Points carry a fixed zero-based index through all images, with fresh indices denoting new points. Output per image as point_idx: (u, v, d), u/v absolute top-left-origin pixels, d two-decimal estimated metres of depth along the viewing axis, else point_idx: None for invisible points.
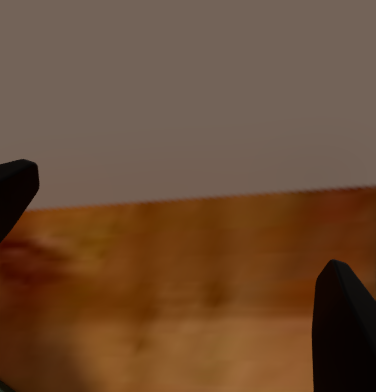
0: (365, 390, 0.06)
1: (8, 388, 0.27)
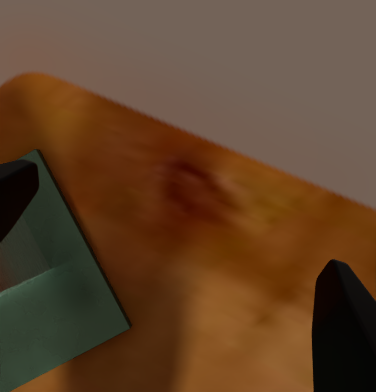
0: (365, 390, 0.06)
1: (116, 298, 0.26)
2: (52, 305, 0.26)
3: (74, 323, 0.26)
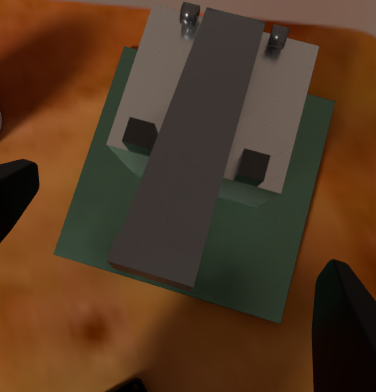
0: (365, 390, 0.06)
1: None
2: (229, 238, 0.22)
3: (233, 272, 0.22)
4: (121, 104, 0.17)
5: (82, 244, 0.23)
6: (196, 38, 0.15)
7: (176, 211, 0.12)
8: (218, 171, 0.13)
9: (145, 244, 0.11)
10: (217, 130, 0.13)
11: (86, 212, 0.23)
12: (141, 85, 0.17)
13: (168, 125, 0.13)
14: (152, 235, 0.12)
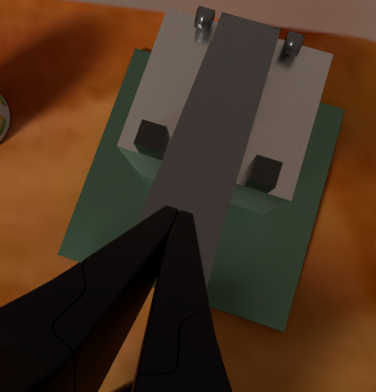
0: (149, 315, 0.07)
1: None
2: (234, 244, 0.22)
3: (238, 278, 0.22)
4: (133, 106, 0.17)
5: (87, 245, 0.22)
6: (211, 42, 0.15)
7: None
8: (231, 176, 0.13)
9: None
10: (231, 135, 0.13)
11: (92, 213, 0.23)
12: (154, 88, 0.17)
13: (181, 129, 0.13)
14: None
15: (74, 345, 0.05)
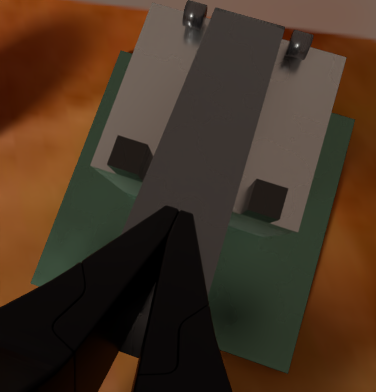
0: (149, 315, 0.07)
1: None
2: (231, 272, 0.20)
3: (235, 311, 0.19)
4: (110, 118, 0.14)
5: None
6: (201, 44, 0.13)
7: None
8: (223, 212, 0.10)
9: None
10: (224, 159, 0.11)
11: (70, 236, 0.20)
12: (135, 96, 0.14)
13: (163, 152, 0.11)
14: None
15: (74, 345, 0.05)
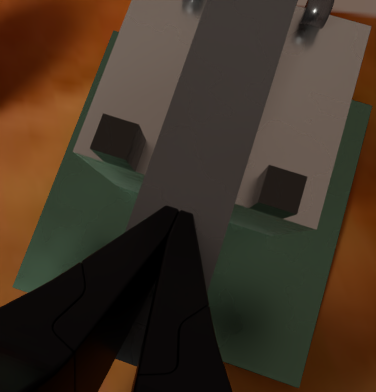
0: (149, 315, 0.07)
1: None
2: (235, 274, 0.18)
3: (240, 318, 0.17)
4: (96, 97, 0.12)
5: (49, 275, 0.18)
6: (201, 21, 0.11)
7: None
8: (220, 223, 0.10)
9: None
10: (222, 165, 0.10)
11: (56, 234, 0.18)
12: (125, 72, 0.12)
13: (159, 157, 0.11)
14: None
15: (74, 345, 0.05)
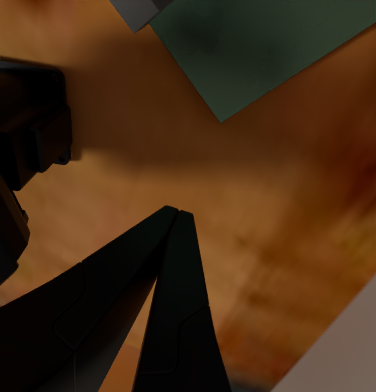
0: (149, 315, 0.07)
1: None
2: (241, 1, 0.16)
3: (216, 43, 0.18)
4: None
5: None
6: None
7: None
8: None
9: None
10: None
11: None
12: None
13: None
14: None
15: (74, 345, 0.05)
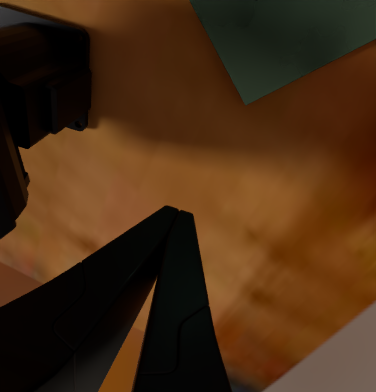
0: (149, 315, 0.07)
1: None
2: None
3: (252, 17, 0.16)
4: None
5: None
6: None
7: None
8: None
9: None
10: None
11: None
12: None
13: None
14: None
15: (74, 345, 0.05)
